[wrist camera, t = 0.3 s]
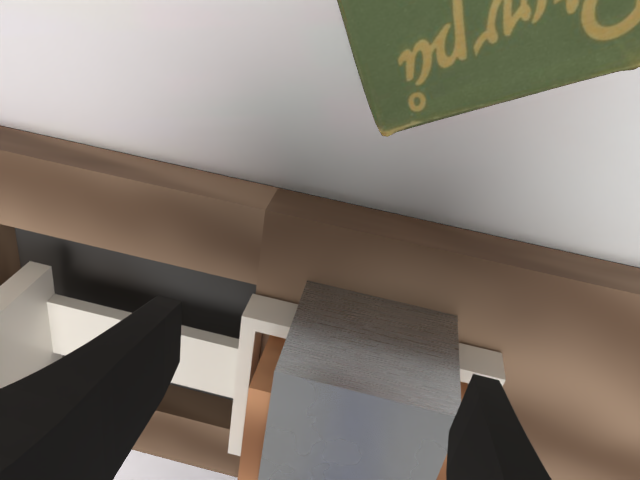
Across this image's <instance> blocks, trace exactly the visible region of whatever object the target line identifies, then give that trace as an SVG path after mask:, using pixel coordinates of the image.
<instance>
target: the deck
mask: <svg viewBox="0 0 640 480" xmlns="http://www.w3.org/2000/svg"><path fill="white" fill-rule="evenodd" d="M29 261H32V262H36V263H40V264H44V265H48V266H51V267H52V275H53V284H54V292H55V294H57V295H62V296H66V297H70V298H74V299H78V300H82V301H86V302H90V303H94V304H98V305H102V306H106V307H110V308H114V309H118V310H123V311H127V312H131V313H133V312H134V311H136V310H137V309H139V308H140V307H142V306H143V305H145V304H146V303H147V302H149V301H150V300H152V299H153V298H155V297H157V296H158V295H161V296H165V297H169V298H173V299H177V300H181V301H182V323H181V325H184V326H188V327H192V328H196V329H200V330H204V331H208V332H212V333H216V334H220V335H224V336H228V337H232V338H236V339H239V337H240V327H241V318H242V314H243V312H244V310H245V308H246V306H247V304H248V302H249V300H250V298H251V296H252V294H257V295H261V296H265V297H269V298H274V299H278V300H282V301H286V302H290V303H294V304H299V301H300V299H301V296H302V293H303V290H304V288H305V285H306V282H307V280H308V281H312V282H317V283H321V284H325V285H329V286H334V287H338V288H342V289H346V290H351V291H355V292H359V293H364V294H368V295H372V296H376V297H381V298H385V299H389V300H393V301H398V302H402V303H406V304H410V305H415V306H419V307H423V308H427V309H432V310H436V311H440V312H444V313H449V314H453V315H457V316H458V339H459V343H462V344H466V345H470V346H475V347H479V348H483V349H487V350H491V351H496V352H500V353H502V357H503V364H504V371H505V379H506V380H505V382H504V385H503V389H504V391H505V393H506V395H507V397H508V399H509V401H510V403H511V405H512V407H513V409H514V411H515V413H516V415H517V417H518V419H519V421H520V423H521V425H522V427H523V429H524V431H525V433H526V435H527V437H528V438H529V440H530V442H531V444H532V446H533V448H534V449H535V451H536V453H537V455H538V457H539V458H540V460H541V462H542V464H543V466H544V467H545V469H546V471H547V472H548V474H549V476H550V478H551V479H552V480H640V268H636V267H632V266H627V265H623V264H618V263H614V262H610V261H605V260H601V259H596V258H592V257H587V256H583V255H578V254H574V253H569V252H565V251H560V250H556V249H551V248H547V247H542V246H538V245H533V244H529V243H524V242H520V241H515V240H511V239H506V238H502V237H497V236H493V235H488V234H484V233H479V232H475V231H470V230H466V229H461V228H457V227H452V226H448V225H443V224H439V223H434V222H430V221H425V220H421V219H416V218H412V217H407V216H403V215H398V214H394V213H389V212H385V211H380V210H376V209H372V208H367V207H363V206H358V205H354V204H349V203H345V202H340V201H336V200H331V199H327V198H322V197H318V196H313V195H309V194H304V193H300V192H295V191H291V190H286V189H282V188H277V187H273V186H268V185H264V184H259V183H255V182H250V181H246V180H241V179H237V178H232V177H228V176H223V175H219V174H214V173H210V172H205V171H201V170H196V169H192V168H187V167H183V166H178V165H174V164H169V163H165V162H160V161H156V160H151V159H147V158H142V157H138V156H134V155H129V154H125V153H120V152H116V151H111V150H107V149H102V148H98V147H93V146H89V145H84V144H80V143H75V142H71V141H66V140H62V139H57V138H53V137H48V136H44V135H39V134H35V133H30V132H26V131H21V130H17V129H12V128H8V127H3V126H0V286H1V285H2V284H3V283H4V282H6V281H7V280H8V279H9V278H10V277H12V276H13V275H14V274H15V273H16V272H17V271H19V270H20V269H21V268H22V267H23V266H25V265H26V264H27V263H28V262H29ZM269 336H270V335H268V334H264V333H262V338H261V346H260V354H259V361H260V358H261V356H262V353H263V351H264V348H265V346H266V343H267V341H268V338H269ZM64 356H65V355H62V357H64ZM258 363H259V362H258ZM468 385H469V383H467V387H468ZM232 406H233V398H230V397H226V396H222V395H218V394H214V393H210V392H206V391H202V390H198V389H195V388H191V387H187V386H183V385H179V384H175V383H170V385H169V387H168V389H167V391H166V393H165V395H164V398H163V399H162V401H161V403H160V404H159V406H158V408H157V409H156V411H155V412H154V414H153V416H152V417H151V419H150V421H149V422H148V424H147V425H146V427H145V429H144V430H143V432H142V433H141V435H140V437H139V438H138V440H137V441H136V443H135V445H134V446H133V448H132V450H136V451H140V452H143V453H147V454H151V455H155V456H159V457H162V458H166V459H170V460H174V461H177V462H181V463H185V464H189V465H192V466H196V467H200V468H204V469H207V470H211V471H215V472H219V473H223V474H226V475H230V476H234V477H238V472H239V464H240V456H237V455H233V454H230V453H228V445H229V435H230V426H231V416H232Z"/></svg>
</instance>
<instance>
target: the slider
mask: <svg viewBox="0 0 640 480" xmlns="http://www.w3.org/2000/svg"><path fill="white" fill-rule="evenodd" d="M297 307H298V304H294V303H290V302H286V301H282V300H278V299H274V298H269V297H265V296H261V295H257V294H252V296H251V298H250V300H249V302H248V304H247V306H246V308H245V310H244V312H243V314H242V318H241V327H240V337H239V339H236V338H232V337H228V336H224V335H220V334H216V333H212V332H208V331H204V330H200V329H196V328H192V327H188V326H184V325H181V347H180V363H179V365H178V367H177V369H176V372H175V374H174V376H173V378H172V381H171V383H175V384H179V385H183V386H187V387H191V388H195V389H198V390H202V391H206V392H210V393H214V394H218V395H222V396H226V397H230V398H233V406H232V416H231V426H230V435H229V445H228V453H230V454H233V455H237V456H241V447H242V439H243V431H244V423H245V414H246V406H247V398H248V389H249V386H250V383H251V381H252V378H253V376H254V373H255V371H256V368H257V366H258V362H259V354H260V346H261V338H262V333H264V334H268V335H272V336H276V337H281V338H285V339H286V337H287V335H288V332H289V329H290V326H291V324H292V321H293V318H294V315H295V313H296V310H297ZM130 314H132V313H131V312H127V311H123V310H118V309H114V308H110V307H106V306H102V305H98V304H94V303H90V302H86V301H82V300H78V299H74V298H70V297H66V296H62V295H57V294H55V292H54V284H53V275H52V267H51V266H48V265H44V264H40V263H36V262H32V261H29V262H28V263H27V264H26V265H25V266H23V267H22V268H21V269H20V270H19V271H17V272H16V273H15V274H14V275H13V276H12V277H10V278H9V279H8V280H7V281H6V282H4V283H3V284H2V285H1V286H0V388H3V387H5V386H7V385H10V384H12V383H14V382H16V381H18V380H20V379H22V378H24V377H26V376H29V375H31V374H33V373H35V372H37V371H38V370H40V369H42V368H44V367H46V366H48V365H50V364H52V363H53V362H55V361H57V360H59V359H60V358H62V355H65V356H66V355H67V354H69V353H71V352H72V351H74V350H76V349H78V348H79V347H81V346H83V345H84V344H86V343H88V342H89V341H91V340H92V339H94V338H95V337H97V336H98V335H100V334H102V333H103V332H105V331H106V330H108V329H109V328H111V327H112V326H114V325H115V324H117V323H118V322H120V321H121V320H123V319H124V318H126V317H127V316H129V315H130ZM459 362H460V381H461V382H465V383H469V382H470V380H471V378H472V375H473V374H476V375H480V376H484V377H488V378H492V379H496V380H499V381H500V383H501V385H502V386H503V385H504V382H505V380H506V379H505V371H504V364H503V357H502V353H500V352H496V351H491V350H487V349H483V348H479V347H475V346H470V345H466V344H462V343H459Z"/></svg>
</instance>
